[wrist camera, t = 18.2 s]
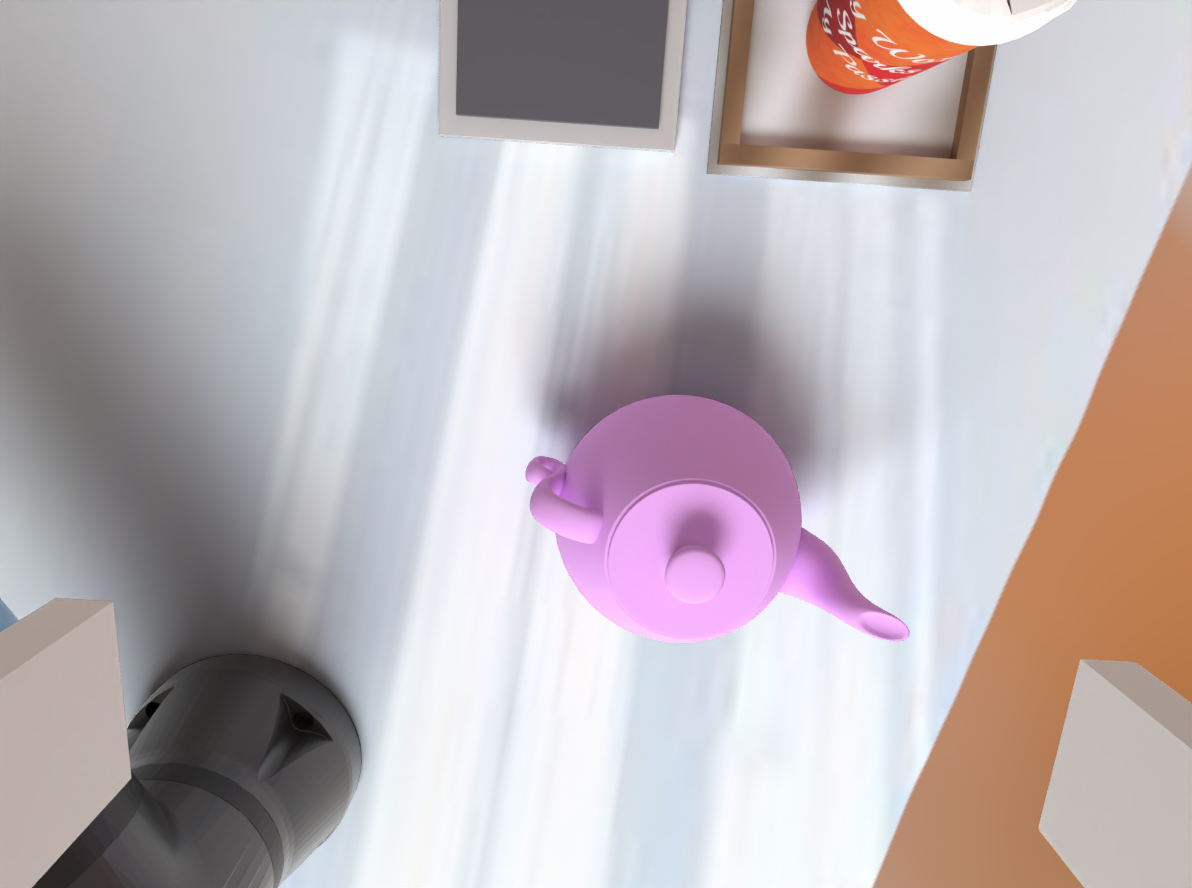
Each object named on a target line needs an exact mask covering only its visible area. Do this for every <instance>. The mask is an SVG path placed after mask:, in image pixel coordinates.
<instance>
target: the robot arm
mask: <svg viewBox="0 0 1192 888" xmlns="http://www.w3.org/2000/svg"><path fill="white" fill-rule="evenodd" d="M360 771H361V751H360V745H359V740H358V737H357V733H356V731H355V728H354V726H353V723H352V721H351V719H350V717H349V716H348V714H347V712H346V711H345V709H344V708H343V707H342V705H341V704H340V703H339V701H338V700H337V699H336V698H335V697H334V696H333V695H332V693H331V692H330V691H328V690H327V689H326V688H325V687H324V686H323V685H322V684H320V683H319V682H318V681H317V680H315V679H314V678H312V677H311V676H309V675H308V674H306V673H304V672H303V671H301V670H299V669H297V668H295V667H292V666H290V665H288V664H285V663H282V662H280V661H276V660H273V659H269V658H265V657H259V656H252V655H224V656H217V657H212V658H208V659H204V660H201V661H198V662H196V663H193V664H191V665H189V666H187V667H185V668H183V669H181V670H180V671H178V672H177V673H175V674H174V675H173V676H171V677H170V678H169V679H168V680H167V681H165V682H164V683H163V684H162V685H161V686H160V687H159V688H158V689H157V690H156V691H155V692H154V693H153V694H152V695H151V696H150V697H149V698H148V699H147V700H146V701H145V702H144V703H143V704H142V706H141V707H140V708H139V710H138V711H137V712H136V714H135V715H134V717H133V718H132V720H131V722H130V724H129V726H128V728H127V729H126V720H125V710H124V700H123V690H122V681H121V671H120V661H119V651H118V642H117V632H116V622H115V612H114V603H113V601H97V600H80V599H63V598H55V599H53V600H52V601H50V602H49V603H47V604H45V605H44V606H42V607H40V608H39V609H37V610H36V611H34V612H32V613H31V614H29V615H27V616H26V617H24V618H23V619H21V620H18V619H17V617H16V616H15V615H14V614H13V613H12V611H11V610H10V609H9V608H8V607H7V605H6V604H5V603H4V602H3V601H2V600H1V598H0V888H278V886H279V885H280V884H281V883H282V882H283V881H284V880H285V879H286V878H287V877H288V876H289V875H290V874H291V873H292V872H293V871H294V870H295V869H296V868H297V867H298V866H299V865H300V864H301V863H302V862H303V861H304V860H305V859H306V858H307V857H308V856H309V855H310V854H311V853H312V852H313V851H314V850H315V849H316V848H318V847H319V846H320V845H321V844H323V843H324V842H325V841H326V840H327V839H328V838H329V837H330V835H331V834H332V833H333V832H334V830H335V829H336V828H337V826H338V825H339V823H340V822H341V820H342V818H343V816H344V814H345V812H346V810H347V808H348V806H349V804H350V802H351V800H352V797H353V795H354V793H355V790H356V788H357V785H358V782H359V777H360ZM1038 829H1039V831H1040V832H1041V833H1042V834H1043V836H1044V837H1045V838H1046V840H1047V841H1048V842H1049V843H1050V844H1051V846H1052V847H1053V848H1054V850H1055V851H1056V852H1057V854H1058V855H1059V856H1060V857H1061V859H1062V860H1063V861H1064V863H1065V864H1066V865H1067V866H1068V868H1069V869H1070V870H1071V871H1072V873H1073V874H1074V875H1075V877H1076V878H1077V879H1078V880H1079V882H1080V883H1081V884H1082V885H1083V887H1084V888H1192V703H1191V702H1189V701H1188V700H1186V699H1185V698H1184V697H1182V696H1181V695H1180V694H1178V693H1177V692H1175V691H1174V690H1173V689H1171V688H1170V687H1169V686H1167V685H1166V684H1165V683H1163V682H1162V681H1161V680H1159V679H1158V678H1156V677H1155V676H1154V675H1152V674H1151V673H1150V672H1148V671H1147V670H1145V669H1144V668H1143V667H1142V666H1140V665H1139V664H1138V663H1136V662H1123V661H1106V660H1089V659H1080V663H1079V668H1078V671H1077V675H1076V680H1075V683H1074V687H1073V692H1072V695H1071V699H1070V703H1069V707H1068V711H1067V715H1066V719H1065V724H1064V727H1063V732H1062V735H1061V740H1060V743H1059V748H1058V752H1057V756H1056V760H1055V764H1054V768H1053V772H1052V776H1051V780H1050V784H1049V788H1048V792H1047V796H1046V800H1045V804H1044V808H1043V812H1042V816H1041V820H1040V824H1039V828H1038Z"/></svg>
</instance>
